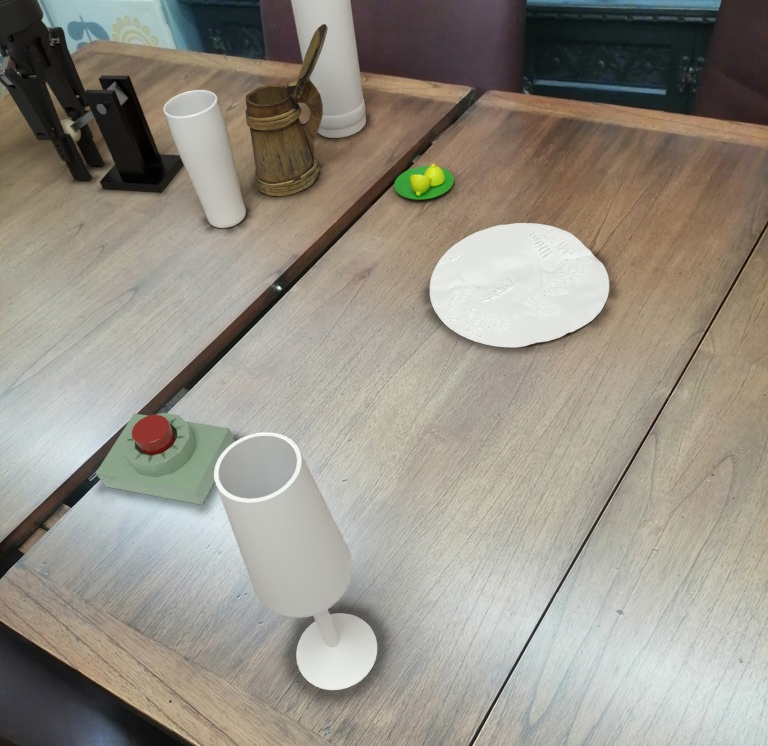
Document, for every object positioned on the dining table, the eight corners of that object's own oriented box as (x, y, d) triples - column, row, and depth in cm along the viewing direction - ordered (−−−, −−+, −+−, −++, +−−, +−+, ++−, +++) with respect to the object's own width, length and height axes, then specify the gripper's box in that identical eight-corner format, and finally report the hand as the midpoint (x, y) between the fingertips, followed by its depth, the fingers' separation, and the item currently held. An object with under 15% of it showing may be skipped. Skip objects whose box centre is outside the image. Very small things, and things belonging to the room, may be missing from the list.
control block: (105, 486, 69) (86, 461, 66) (142, 427, 73) (126, 400, 70) (202, 505, 66) (188, 480, 63) (235, 442, 70) (223, 415, 67)
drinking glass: (198, 214, 95) (156, 100, 83) (244, 198, 96) (209, 83, 84) (210, 239, 92) (168, 123, 79) (258, 222, 93) (224, 105, 80)
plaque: (486, 215, 87) (486, 204, 85) (638, 261, 79) (641, 250, 78) (396, 315, 79) (395, 305, 78) (555, 377, 71) (556, 367, 70)
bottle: (304, 133, 105) (251, -129, 80) (335, 108, 108) (293, -150, 84) (346, 143, 102) (303, -126, 77) (377, 118, 105) (345, -148, 80)
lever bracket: (102, 189, 102) (59, 98, 92) (128, 160, 107) (90, 69, 96) (161, 192, 100) (124, 99, 90) (185, 162, 104) (152, 70, 94)
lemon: (444, 206, 90) (443, 185, 87) (386, 201, 92) (384, 181, 90) (460, 172, 94) (460, 151, 91) (405, 168, 96) (403, 148, 94)
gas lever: (66, 151, 102) (48, 131, 100) (77, 140, 104) (59, 120, 102) (121, 110, 94) (103, 88, 92) (132, 99, 95) (115, 76, 93)
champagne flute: (387, 674, 54) (334, 495, 35) (305, 701, 54) (204, 535, 34) (365, 602, 58) (305, 404, 39) (288, 627, 58) (188, 439, 38)
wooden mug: (351, 186, 95) (327, 39, 80) (255, 200, 96) (214, 57, 81) (349, 153, 100) (326, 8, 85) (257, 166, 101) (219, 26, 86)
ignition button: (132, 452, 66) (124, 440, 65) (149, 424, 68) (142, 412, 67) (164, 457, 65) (157, 445, 64) (181, 429, 67) (175, 417, 66)
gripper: (-15, 17, 81) (82, 203, 100) (58, -38, 90) (135, 143, 109) (-65, 19, 83) (40, 200, 102) (12, -35, 92) (95, 142, 111)
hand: (89, 170), depth 106 cm, fingers closed on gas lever, 3 cm apart
